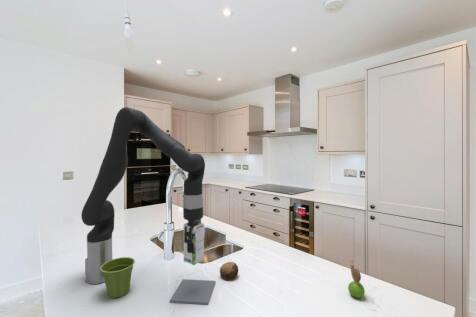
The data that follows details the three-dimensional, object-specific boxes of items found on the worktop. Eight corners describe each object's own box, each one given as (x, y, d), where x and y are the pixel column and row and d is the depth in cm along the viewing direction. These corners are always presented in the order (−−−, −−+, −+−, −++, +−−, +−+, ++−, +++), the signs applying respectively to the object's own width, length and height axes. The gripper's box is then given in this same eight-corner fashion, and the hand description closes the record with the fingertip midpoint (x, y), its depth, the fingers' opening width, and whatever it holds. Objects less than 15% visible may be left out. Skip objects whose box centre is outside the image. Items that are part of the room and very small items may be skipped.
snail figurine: (357, 290, 89) (358, 259, 89) (367, 301, 83) (368, 268, 83) (344, 290, 89) (344, 260, 89) (353, 301, 83) (353, 268, 83)
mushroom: (230, 262, 106) (228, 255, 102) (242, 273, 102) (241, 266, 98) (217, 275, 102) (215, 268, 98) (229, 288, 97) (228, 281, 94)
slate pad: (169, 302, 82) (169, 300, 82) (182, 281, 96) (182, 279, 96) (208, 305, 81) (208, 302, 81) (215, 282, 95) (215, 280, 95)
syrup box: (182, 261, 88) (182, 224, 87) (194, 255, 93) (193, 220, 92) (193, 265, 85) (193, 226, 84) (204, 259, 89) (204, 222, 89)
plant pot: (110, 284, 94) (109, 257, 94) (139, 283, 95) (139, 256, 95) (94, 303, 82) (93, 272, 82) (128, 302, 83) (127, 271, 83)
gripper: (189, 201, 96) (189, 240, 96) (177, 210, 81) (177, 255, 82) (207, 201, 95) (207, 241, 95) (197, 210, 81) (198, 256, 81)
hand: (193, 247), depth 88 cm, fingers closed on syrup box, 7 cm apart
